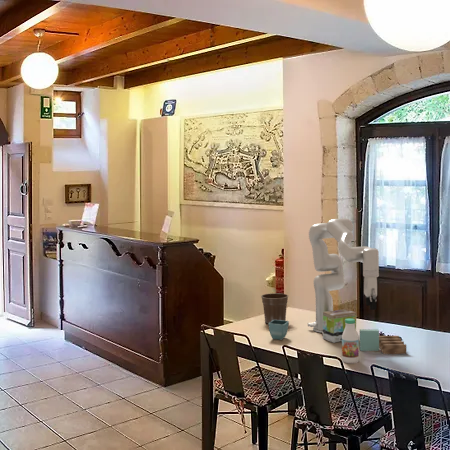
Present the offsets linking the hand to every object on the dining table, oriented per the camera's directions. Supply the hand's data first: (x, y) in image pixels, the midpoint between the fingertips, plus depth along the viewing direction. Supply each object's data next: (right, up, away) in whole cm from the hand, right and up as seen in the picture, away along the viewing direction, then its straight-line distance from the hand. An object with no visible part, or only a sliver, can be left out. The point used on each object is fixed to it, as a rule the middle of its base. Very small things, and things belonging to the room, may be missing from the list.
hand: (371, 307), depth 303 cm
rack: (+10, -21, +1) cm, 23 cm away
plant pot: (-43, -17, +60) cm, 75 cm away
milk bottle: (-14, -23, -17) cm, 32 cm away
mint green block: (-1, -21, +1) cm, 21 cm away
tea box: (-12, -20, +21) cm, 31 cm away
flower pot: (-44, -20, +25) cm, 54 cm away
